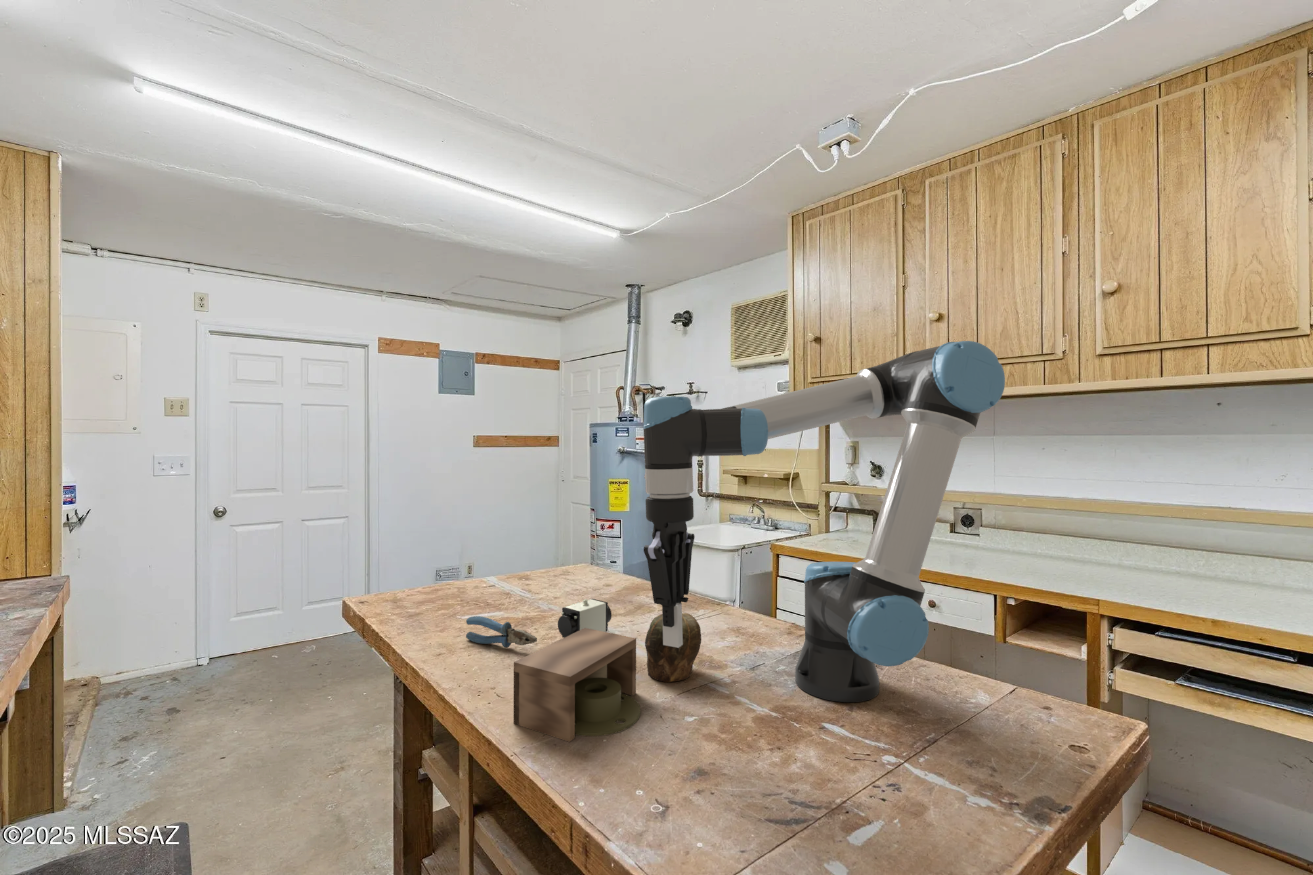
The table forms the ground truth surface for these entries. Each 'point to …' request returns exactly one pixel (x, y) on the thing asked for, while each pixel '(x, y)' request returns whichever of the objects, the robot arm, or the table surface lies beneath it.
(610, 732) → the flange
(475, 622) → the pliers
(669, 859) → the table surface
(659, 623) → the green ball cactus
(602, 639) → the shelf
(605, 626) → the pneumatic valve
